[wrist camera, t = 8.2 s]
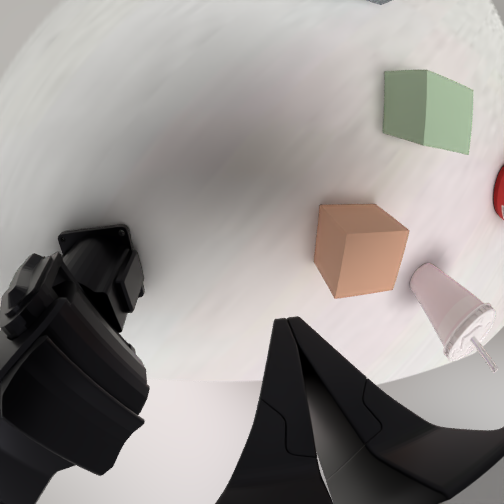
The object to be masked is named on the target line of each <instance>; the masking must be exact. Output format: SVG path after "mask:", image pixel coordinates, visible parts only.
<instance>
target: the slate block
mask: <svg viewBox="0 0 504 504" xmlns="http://www.w3.org/2000/svg"><path fill="white" fill-rule="evenodd" d="M367 1H370V2H373V3H377V4H380V5H382V4H384V3H387V2H389V1H392V0H367Z"/></svg>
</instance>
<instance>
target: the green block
mask: <svg viewBox="0 0 504 504" xmlns="http://www.w3.org/2000/svg"><path fill="white" fill-rule="evenodd" d="M384 74H385V86H384V119H383V133H384V134H388V135H392V136H395V137H398V138H402V139H405V140H408V141H411V142H414V143H417V144H420V145H423V146H429V147H434V148H439V149H444V150H449V151H453V152H458V153H462V154H466V155H469V148H470V139H471V129H472V115H473V90H472V89H470V88H468V87H466V86H464V85H462V84H459V83H457V82H455V81H453V80H451V79H448V78H446V77H444V76H441V75H439V74H436V73H434V72H431V71H428V70H401V71H385V72H384Z"/></svg>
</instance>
